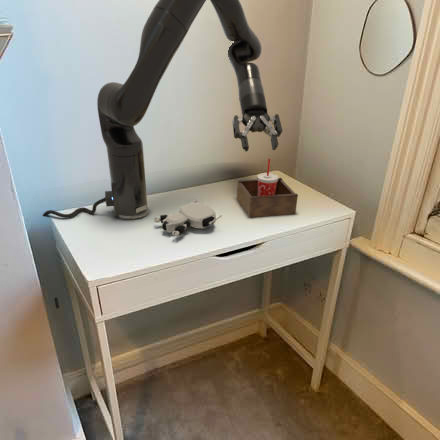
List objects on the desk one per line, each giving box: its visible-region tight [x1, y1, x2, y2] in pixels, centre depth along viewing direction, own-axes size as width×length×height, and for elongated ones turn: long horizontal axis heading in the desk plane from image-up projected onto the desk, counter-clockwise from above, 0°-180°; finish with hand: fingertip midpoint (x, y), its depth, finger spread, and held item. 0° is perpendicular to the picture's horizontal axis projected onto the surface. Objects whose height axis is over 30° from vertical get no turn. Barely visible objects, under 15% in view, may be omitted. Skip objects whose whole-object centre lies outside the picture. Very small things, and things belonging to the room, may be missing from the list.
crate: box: [236, 177, 299, 218], centre depth 127 cm, size 14×14×6 cm
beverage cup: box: [256, 158, 280, 196], centre depth 125 cm, size 6×6×14 cm
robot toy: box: [153, 199, 223, 237], centre depth 115 cm, size 12×4×15 cm
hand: (261, 149), depth 127 cm, fingers open, 8 cm apart
